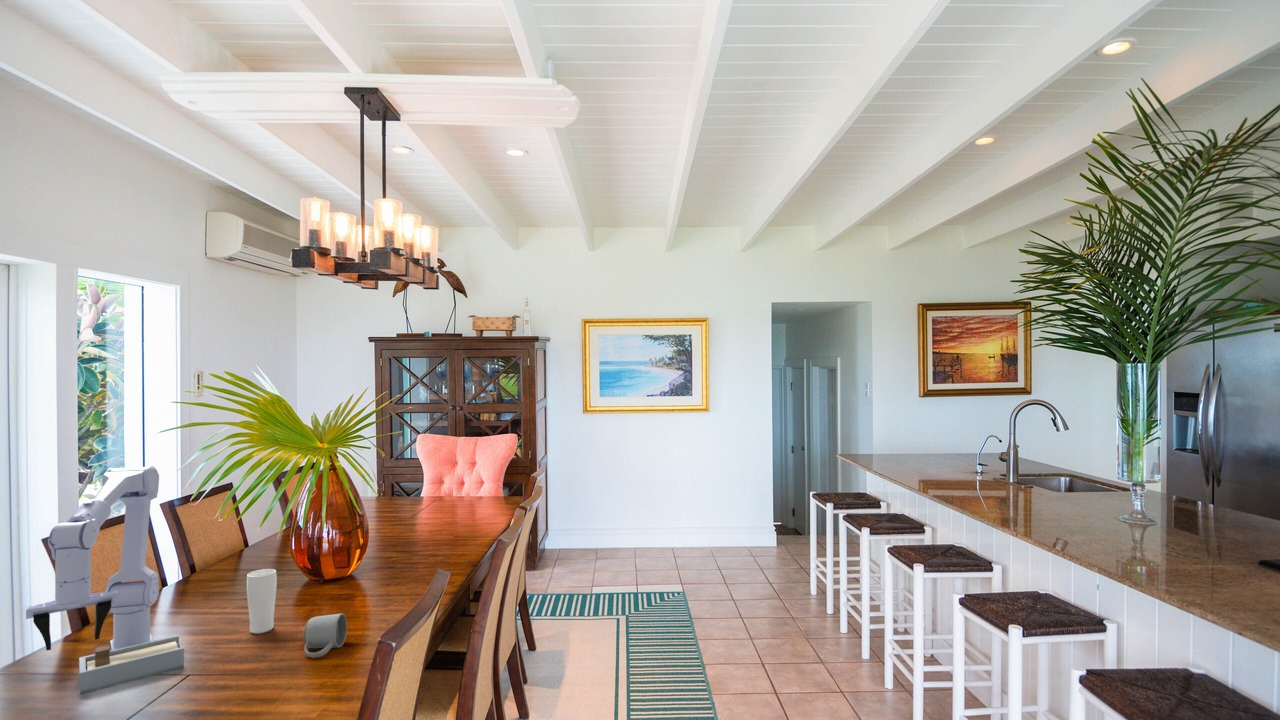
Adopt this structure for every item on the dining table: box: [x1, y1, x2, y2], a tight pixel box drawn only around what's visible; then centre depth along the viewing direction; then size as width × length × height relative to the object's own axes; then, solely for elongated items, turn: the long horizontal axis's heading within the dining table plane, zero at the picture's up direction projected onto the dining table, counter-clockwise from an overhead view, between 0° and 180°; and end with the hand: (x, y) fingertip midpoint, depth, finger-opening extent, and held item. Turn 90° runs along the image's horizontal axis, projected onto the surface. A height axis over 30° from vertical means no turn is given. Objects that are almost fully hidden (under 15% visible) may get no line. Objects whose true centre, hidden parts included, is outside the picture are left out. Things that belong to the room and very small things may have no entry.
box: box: [78, 634, 185, 695], centre depth 145 cm, size 10×18×4 cm, turn 131°
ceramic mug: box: [302, 613, 348, 659], centre depth 157 cm, size 11×8×8 cm
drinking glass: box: [246, 568, 278, 635], centre depth 169 cm, size 7×7×15 cm
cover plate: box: [87, 641, 178, 670], centre depth 146 cm, size 7×16×4 cm, turn 131°
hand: (73, 643), depth 137 cm, fingers open, 7 cm apart
